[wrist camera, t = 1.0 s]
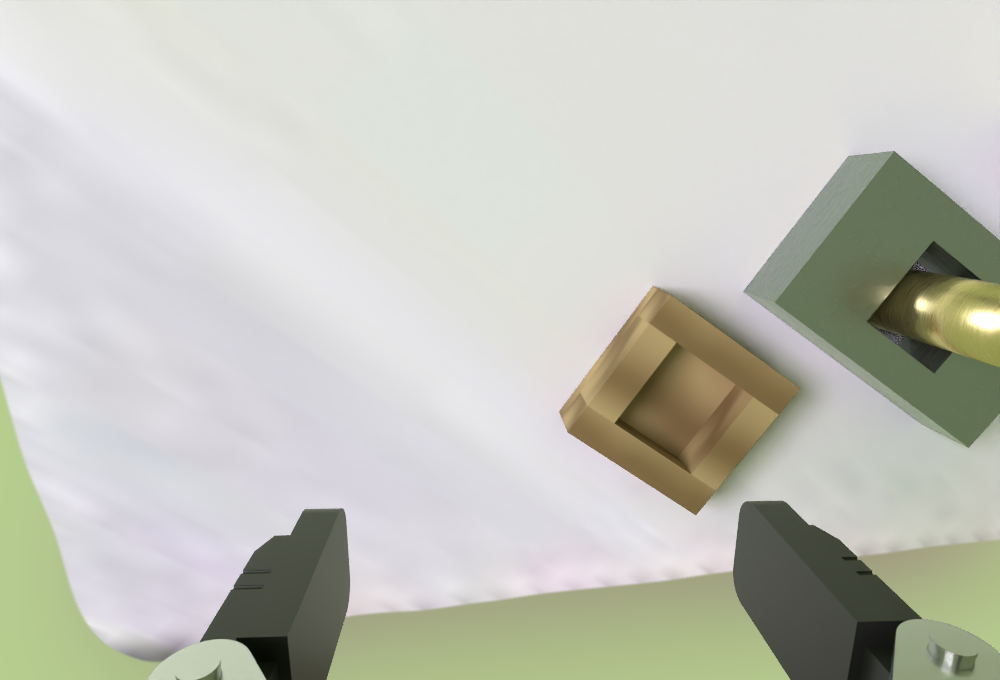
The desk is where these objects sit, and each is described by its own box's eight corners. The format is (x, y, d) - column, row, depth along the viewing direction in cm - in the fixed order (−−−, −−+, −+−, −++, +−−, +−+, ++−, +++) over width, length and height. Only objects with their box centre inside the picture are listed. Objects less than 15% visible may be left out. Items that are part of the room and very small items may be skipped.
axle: (885, 253, 38) (1029, 273, 28) (929, 289, 38) (1085, 320, 29) (843, 305, 38) (969, 342, 29) (887, 339, 39) (1025, 386, 29)
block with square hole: (848, 156, 36) (894, 151, 32) (1026, 303, 39) (1088, 315, 35) (743, 291, 38) (774, 302, 34) (920, 423, 41) (968, 447, 37)
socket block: (652, 286, 37) (671, 295, 34) (771, 371, 39) (800, 388, 36) (559, 411, 39) (567, 432, 36) (677, 488, 41) (695, 515, 37)
